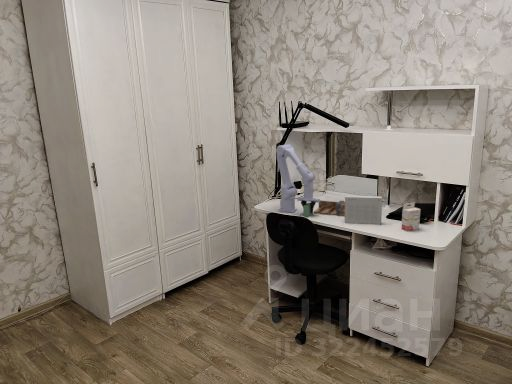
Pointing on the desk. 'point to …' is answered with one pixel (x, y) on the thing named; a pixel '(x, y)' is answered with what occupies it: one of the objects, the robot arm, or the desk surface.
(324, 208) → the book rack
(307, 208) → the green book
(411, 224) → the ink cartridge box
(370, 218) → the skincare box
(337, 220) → the desk surface
